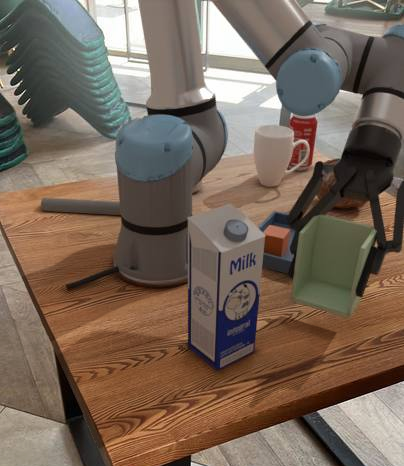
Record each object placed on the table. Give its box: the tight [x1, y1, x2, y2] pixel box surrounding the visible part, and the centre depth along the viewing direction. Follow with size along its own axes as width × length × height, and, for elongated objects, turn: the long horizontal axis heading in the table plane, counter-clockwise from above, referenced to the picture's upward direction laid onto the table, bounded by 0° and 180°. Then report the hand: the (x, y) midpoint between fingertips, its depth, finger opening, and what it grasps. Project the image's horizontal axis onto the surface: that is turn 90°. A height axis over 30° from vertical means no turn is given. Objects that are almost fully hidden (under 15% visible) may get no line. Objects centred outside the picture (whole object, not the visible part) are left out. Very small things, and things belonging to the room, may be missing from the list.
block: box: [263, 225, 290, 257], centre depth 101 cm, size 4×4×4 cm
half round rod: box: [40, 197, 121, 216], centre depth 116 cm, size 4×20×2 cm, turn 85°
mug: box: [253, 124, 310, 188], centre depth 125 cm, size 12×8×11 cm
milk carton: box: [187, 203, 266, 372], centre depth 75 cm, size 7×7×20 cm
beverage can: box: [287, 113, 319, 172], centre depth 133 cm, size 6×6×12 cm
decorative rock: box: [315, 157, 369, 210], centre depth 117 cm, size 13×11×10 cm
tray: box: [256, 210, 304, 275], centre depth 104 cm, size 17×12×2 cm
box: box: [289, 214, 377, 319], centre depth 81 cm, size 7×9×11 cm
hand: (324, 285), depth 80 cm, fingers closed on box, 9 cm apart
